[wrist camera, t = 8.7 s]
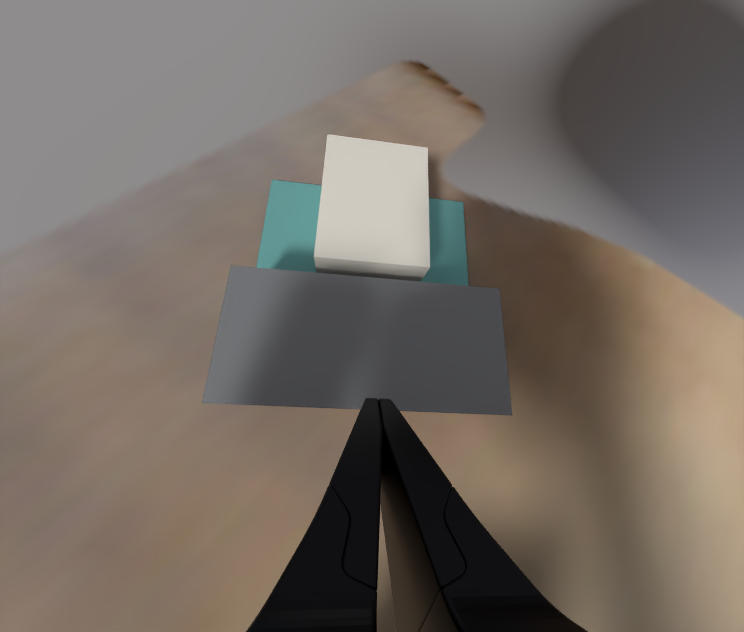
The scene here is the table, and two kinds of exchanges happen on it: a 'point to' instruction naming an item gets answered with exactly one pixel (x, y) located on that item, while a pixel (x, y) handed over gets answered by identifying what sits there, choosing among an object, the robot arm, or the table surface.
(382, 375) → the plinth
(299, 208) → the mat
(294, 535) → the table surface
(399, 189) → the card box
